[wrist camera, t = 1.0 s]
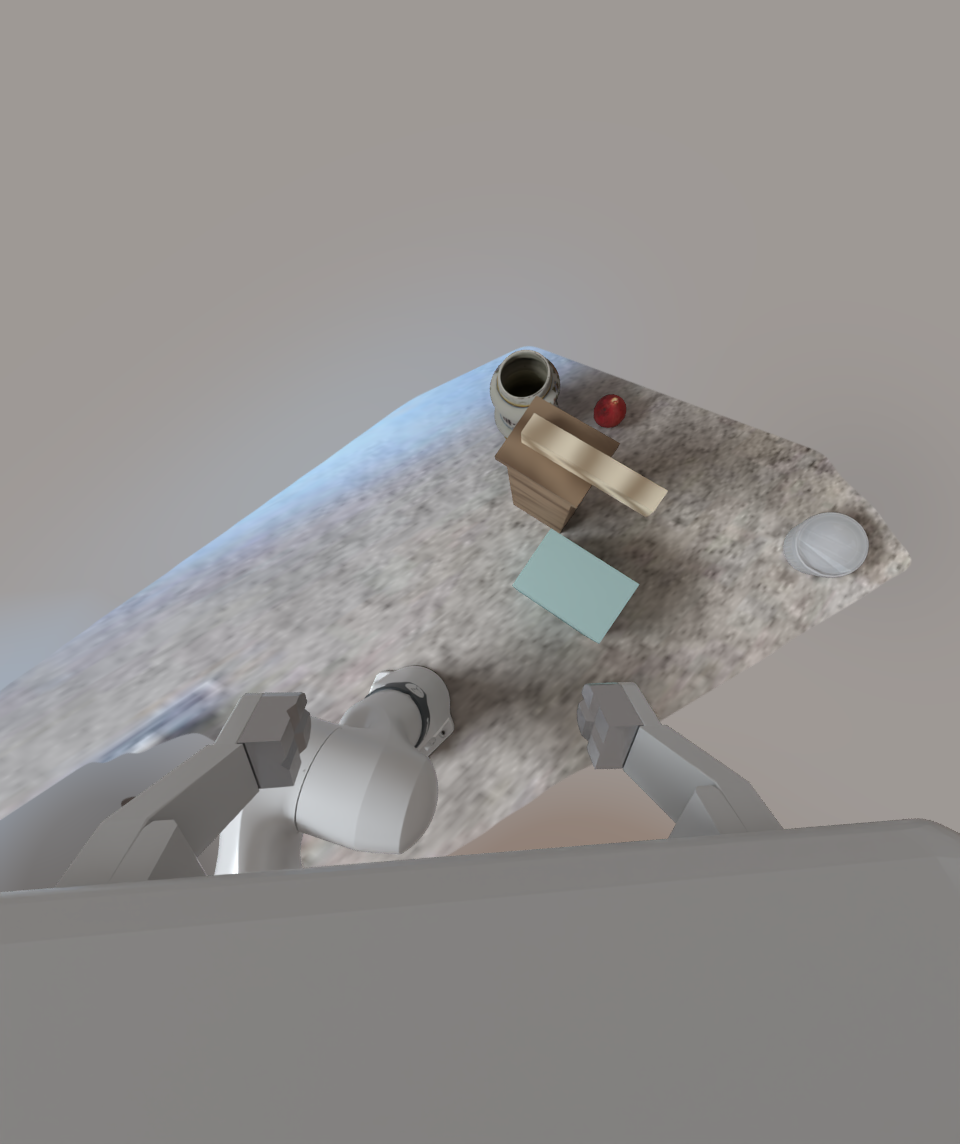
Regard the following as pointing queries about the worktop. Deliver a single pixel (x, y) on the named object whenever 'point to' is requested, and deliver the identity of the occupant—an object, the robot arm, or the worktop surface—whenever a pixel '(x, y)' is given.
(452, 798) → the worktop surface
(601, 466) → the rod
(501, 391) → the apothecary jar
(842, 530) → the ramekin
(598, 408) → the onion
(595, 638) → the low block
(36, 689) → the worktop surface
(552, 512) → the tall stand
